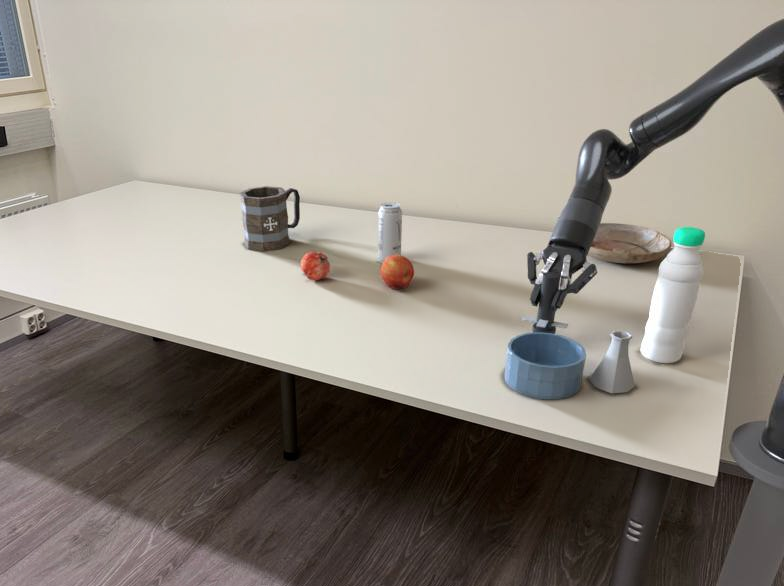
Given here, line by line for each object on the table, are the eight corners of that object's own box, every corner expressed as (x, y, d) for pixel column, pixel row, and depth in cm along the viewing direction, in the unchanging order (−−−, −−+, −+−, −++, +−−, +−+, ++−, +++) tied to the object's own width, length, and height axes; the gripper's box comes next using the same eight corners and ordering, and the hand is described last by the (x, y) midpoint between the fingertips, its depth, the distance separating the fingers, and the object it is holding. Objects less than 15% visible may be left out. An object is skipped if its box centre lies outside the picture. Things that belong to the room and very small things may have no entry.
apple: (406, 278, 167) (407, 248, 163) (419, 291, 160) (420, 260, 156) (376, 283, 165) (376, 252, 161) (387, 296, 158) (388, 264, 154)
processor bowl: (594, 380, 121) (600, 348, 118) (553, 408, 114) (559, 375, 111) (531, 355, 130) (535, 325, 127) (489, 379, 123) (492, 349, 120)
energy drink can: (398, 265, 175) (399, 209, 168) (376, 263, 177) (376, 208, 170) (402, 257, 180) (404, 202, 173) (380, 255, 182) (381, 201, 175)
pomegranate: (297, 288, 171) (314, 274, 162) (290, 261, 172) (306, 246, 163) (322, 284, 174) (340, 271, 165) (315, 258, 175) (332, 243, 166)
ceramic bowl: (582, 272, 165) (586, 253, 163) (562, 240, 186) (564, 223, 183) (682, 271, 162) (686, 252, 160) (649, 239, 183) (653, 222, 180)
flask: (580, 379, 122) (589, 330, 117) (611, 370, 124) (621, 321, 119) (611, 398, 116) (622, 347, 111) (642, 388, 118) (654, 338, 113)
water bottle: (670, 368, 123) (703, 239, 111) (633, 356, 128) (660, 230, 116) (687, 355, 127) (720, 229, 115) (649, 343, 132) (678, 220, 120)
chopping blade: (574, 331, 131) (584, 274, 125) (550, 345, 127) (559, 287, 121) (537, 318, 137) (544, 263, 131) (512, 331, 132) (519, 275, 127)
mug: (262, 254, 187) (258, 201, 180) (234, 243, 196) (229, 193, 189) (315, 237, 198) (312, 187, 191) (286, 227, 207) (283, 179, 200)
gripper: (616, 243, 128) (583, 323, 127) (545, 231, 137) (513, 306, 135) (611, 224, 122) (576, 307, 120) (537, 212, 131) (503, 290, 129)
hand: (543, 306), depth 128 cm, fingers closed on chopping blade, 3 cm apart
